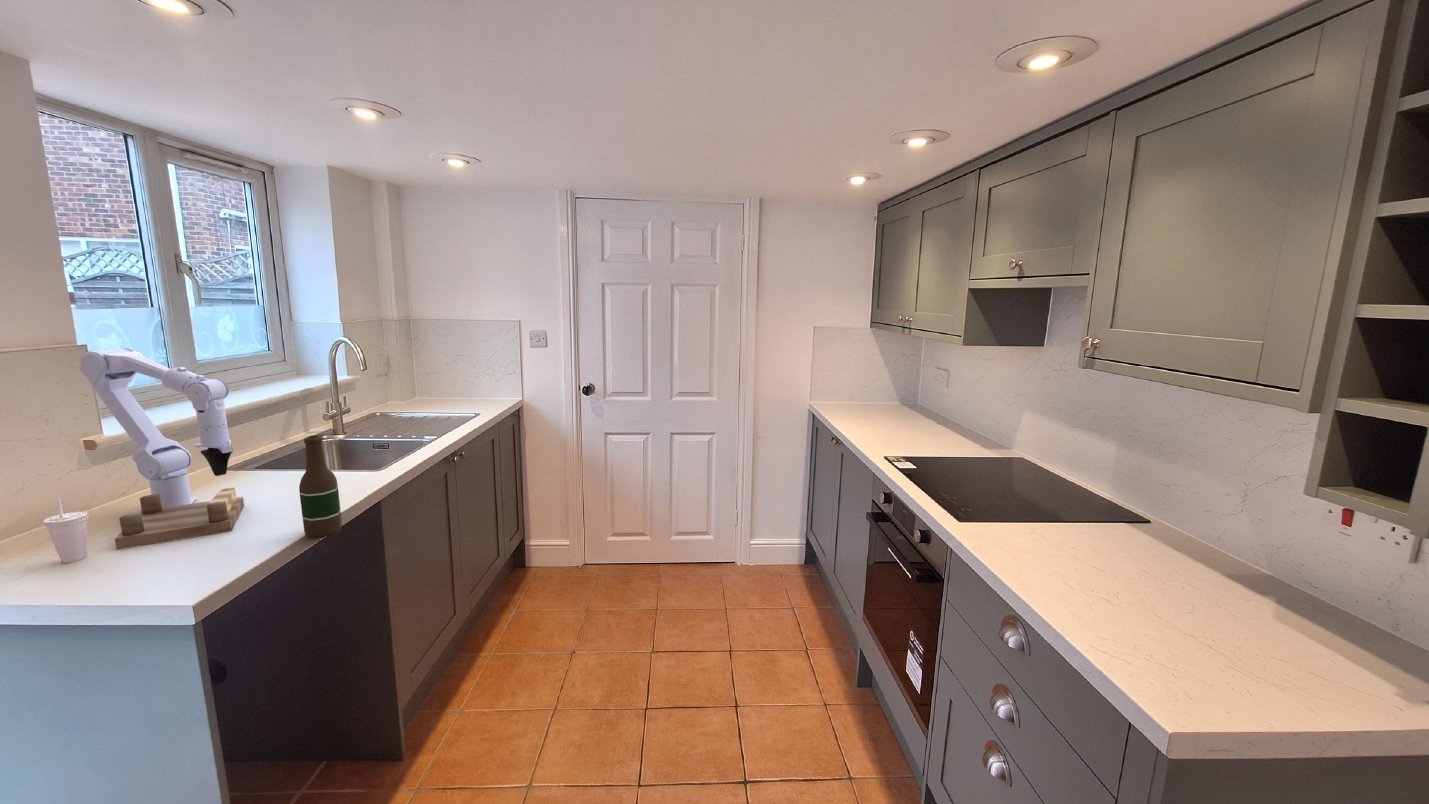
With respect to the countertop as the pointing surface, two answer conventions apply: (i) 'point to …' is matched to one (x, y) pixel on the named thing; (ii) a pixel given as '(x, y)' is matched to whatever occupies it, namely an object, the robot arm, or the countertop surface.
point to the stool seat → (175, 521)
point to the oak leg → (225, 497)
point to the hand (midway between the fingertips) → (220, 474)
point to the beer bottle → (319, 493)
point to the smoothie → (68, 534)
